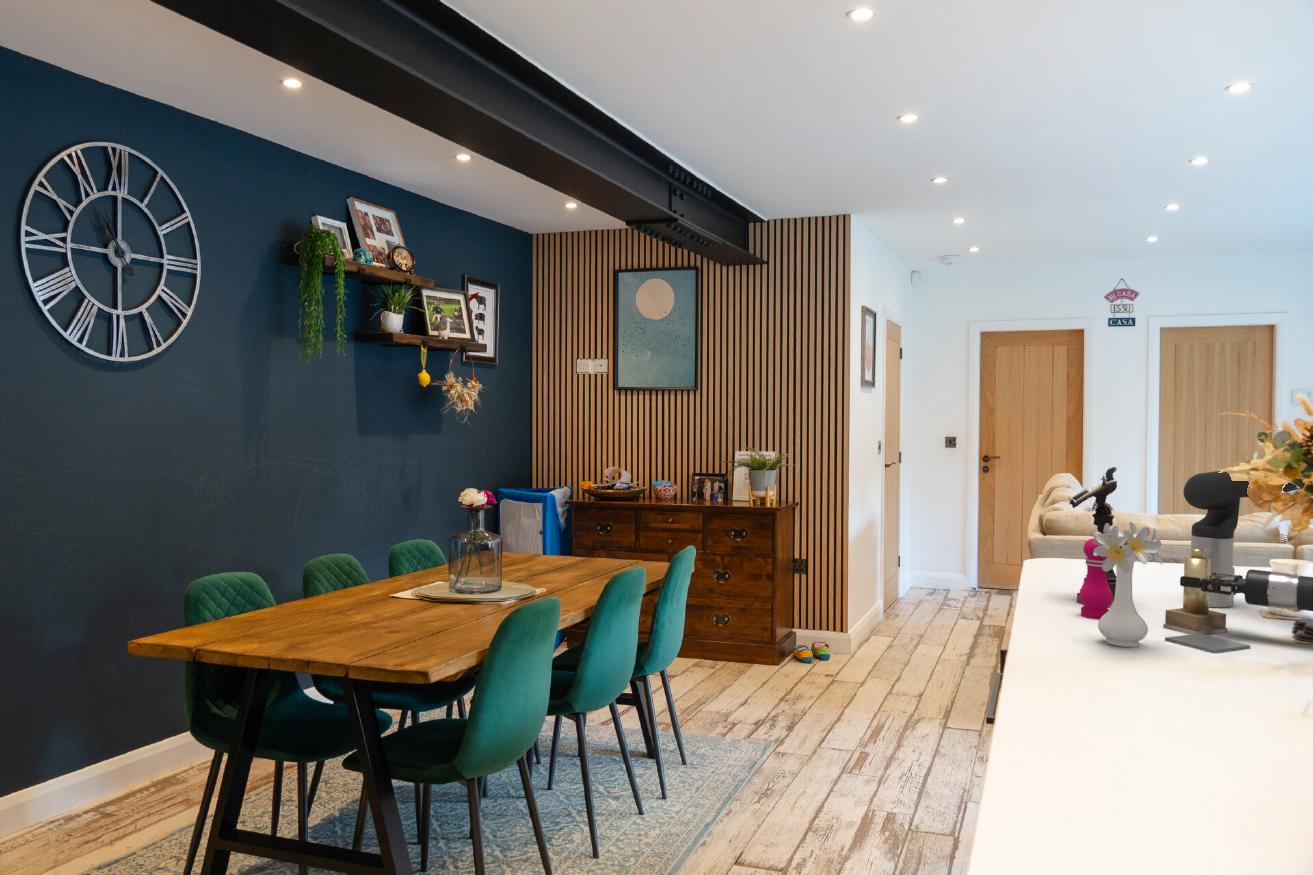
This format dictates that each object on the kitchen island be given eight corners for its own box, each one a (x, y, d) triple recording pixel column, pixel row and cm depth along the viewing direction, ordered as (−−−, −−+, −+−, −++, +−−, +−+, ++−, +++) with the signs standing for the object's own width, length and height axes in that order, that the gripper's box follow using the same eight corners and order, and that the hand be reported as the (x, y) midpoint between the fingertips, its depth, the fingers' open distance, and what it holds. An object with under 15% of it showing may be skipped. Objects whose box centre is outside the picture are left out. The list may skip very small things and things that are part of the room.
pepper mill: (1105, 613, 225) (1108, 530, 224) (1117, 620, 217) (1119, 534, 217) (1074, 612, 225) (1076, 529, 225) (1084, 619, 218) (1087, 533, 217)
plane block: (1193, 624, 215) (1194, 606, 214) (1227, 631, 207) (1228, 613, 207) (1163, 627, 211) (1163, 609, 210) (1196, 635, 203) (1197, 617, 203)
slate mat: (1200, 635, 203) (1200, 633, 203) (1250, 648, 193) (1250, 645, 193) (1164, 640, 199) (1164, 637, 199) (1214, 653, 188) (1214, 650, 188)
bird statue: (1054, 604, 234) (1058, 464, 233) (1055, 595, 246) (1058, 462, 245) (1128, 610, 228) (1133, 467, 227) (1125, 601, 240) (1129, 464, 239)
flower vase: (1086, 649, 189) (1089, 526, 189) (1092, 631, 206) (1096, 517, 205) (1159, 659, 183) (1163, 531, 182) (1160, 639, 199) (1164, 522, 199)
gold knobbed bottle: (1193, 608, 212) (1195, 546, 211) (1214, 613, 207) (1216, 550, 207) (1177, 610, 210) (1179, 548, 209) (1198, 615, 206) (1200, 551, 205)
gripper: (1279, 567, 204) (1191, 558, 216) (1268, 576, 194) (1176, 566, 205) (1277, 602, 205) (1190, 591, 216) (1266, 612, 194) (1175, 600, 205)
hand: (1184, 579), depth 210 cm, fingers open, 5 cm apart
